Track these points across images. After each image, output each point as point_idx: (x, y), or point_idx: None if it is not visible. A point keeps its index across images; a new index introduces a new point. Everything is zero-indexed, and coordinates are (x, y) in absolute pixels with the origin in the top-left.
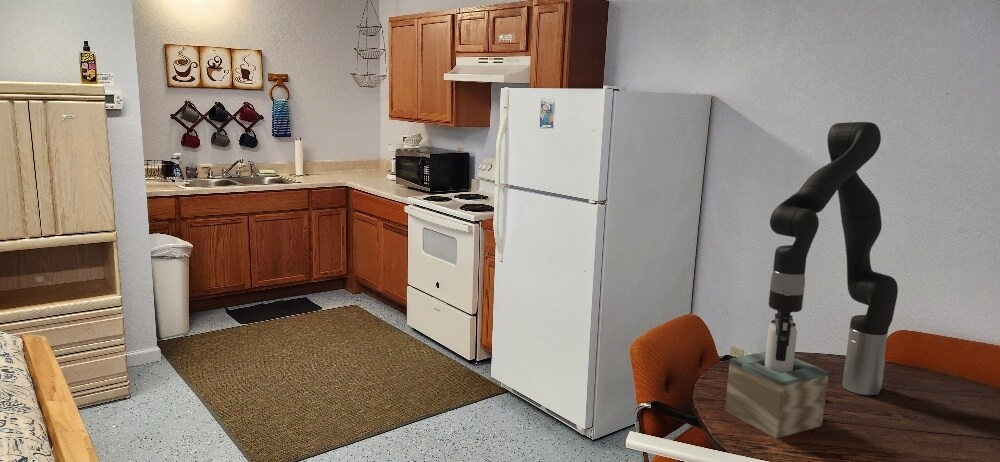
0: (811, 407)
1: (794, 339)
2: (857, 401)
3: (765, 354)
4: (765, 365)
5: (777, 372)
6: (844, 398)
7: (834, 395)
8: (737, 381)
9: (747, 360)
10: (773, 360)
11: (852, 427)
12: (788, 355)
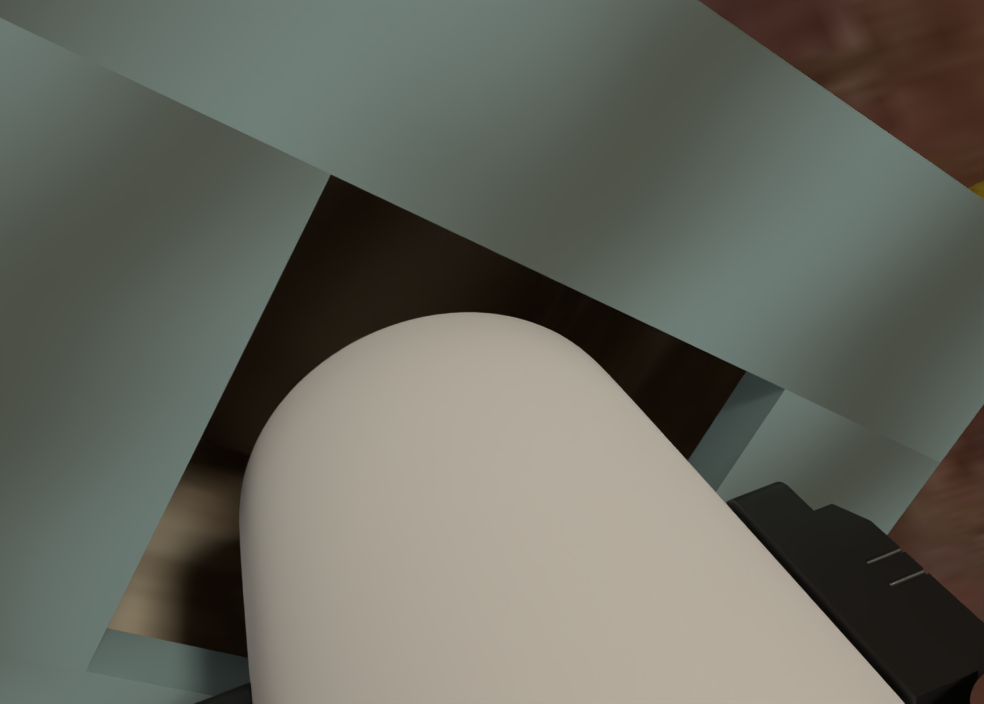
0: None
1: None
2: (937, 555)
3: (830, 218)
4: (334, 370)
5: (95, 632)
6: (953, 494)
7: (978, 439)
8: None
9: (316, 41)
10: (254, 606)
11: None
12: None
